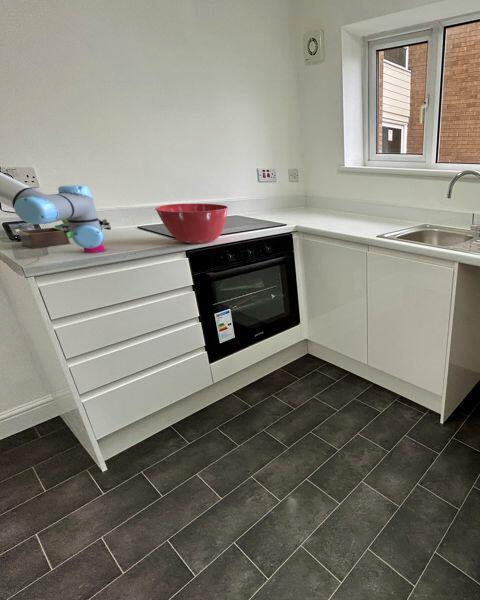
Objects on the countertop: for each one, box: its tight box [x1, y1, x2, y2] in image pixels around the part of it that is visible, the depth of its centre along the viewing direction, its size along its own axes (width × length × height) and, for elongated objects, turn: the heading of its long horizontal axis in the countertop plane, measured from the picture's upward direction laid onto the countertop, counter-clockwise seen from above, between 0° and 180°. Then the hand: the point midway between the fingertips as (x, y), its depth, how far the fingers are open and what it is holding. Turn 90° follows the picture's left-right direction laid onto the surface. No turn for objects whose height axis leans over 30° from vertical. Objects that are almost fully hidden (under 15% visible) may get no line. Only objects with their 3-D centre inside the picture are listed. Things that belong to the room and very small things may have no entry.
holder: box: [17, 226, 71, 249], centre depth 146 cm, size 12×12×6 cm
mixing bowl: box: [154, 203, 229, 245], centre depth 159 cm, size 28×28×16 cm
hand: (86, 221), depth 139 cm, fingers closed on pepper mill, 5 cm apart
